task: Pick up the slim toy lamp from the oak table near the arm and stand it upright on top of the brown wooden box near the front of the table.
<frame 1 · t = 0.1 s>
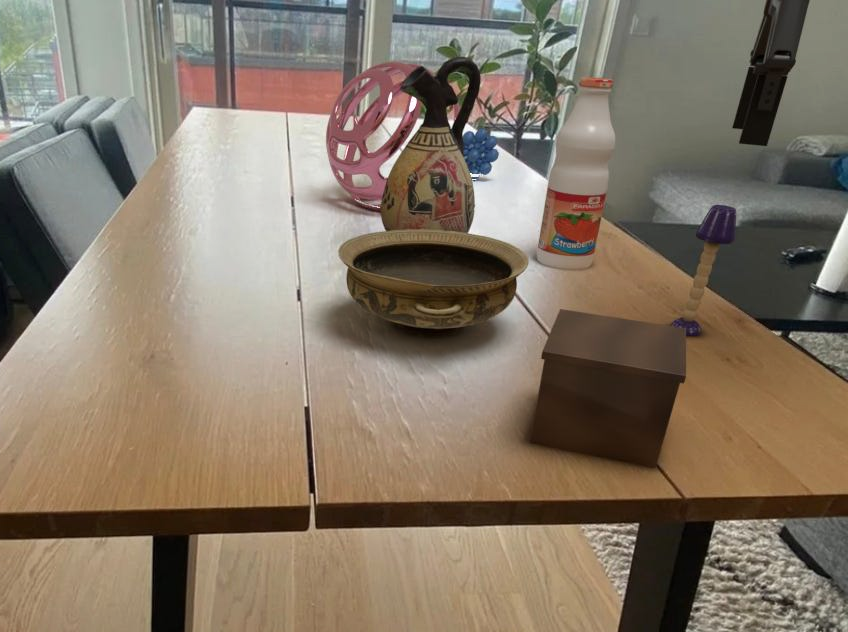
hand: (748, 136, 86), 25 cm above the table, tool pointing down, fingers open, 13 cm apart
ceramic bowl: (426, 329, 102), on the table
spiral basket: (383, 208, 160), on the table
brown wooden box: (596, 430, 79), on the table
ceramic jug: (428, 256, 131), on the table
grapes: (472, 181, 188), on the table
fruit juice: (563, 264, 131), on the table
toy lamp: (686, 334, 105), on the table
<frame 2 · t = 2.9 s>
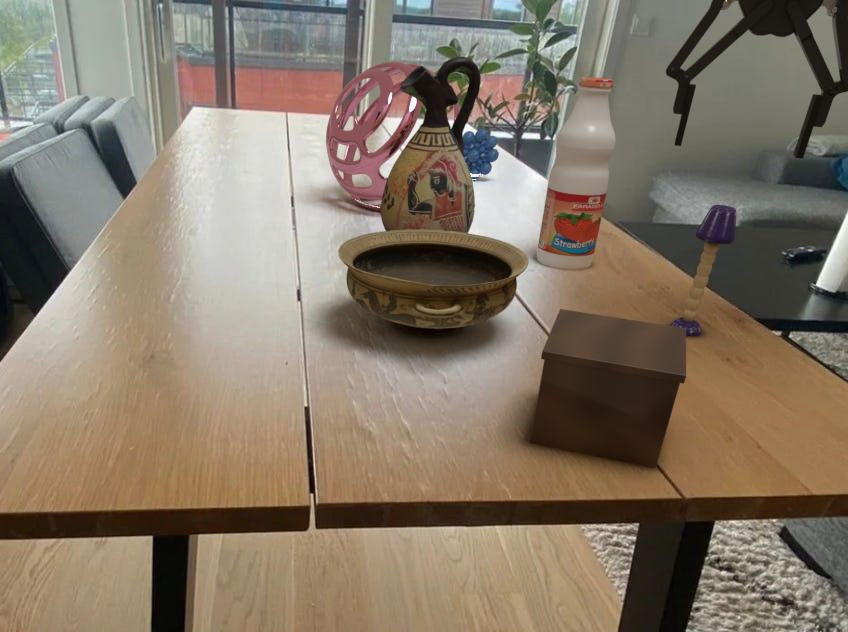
hand: (736, 150, 92), 23 cm above the table, tool pointing down, fingers open, 13 cm apart
nothing on the table moved.
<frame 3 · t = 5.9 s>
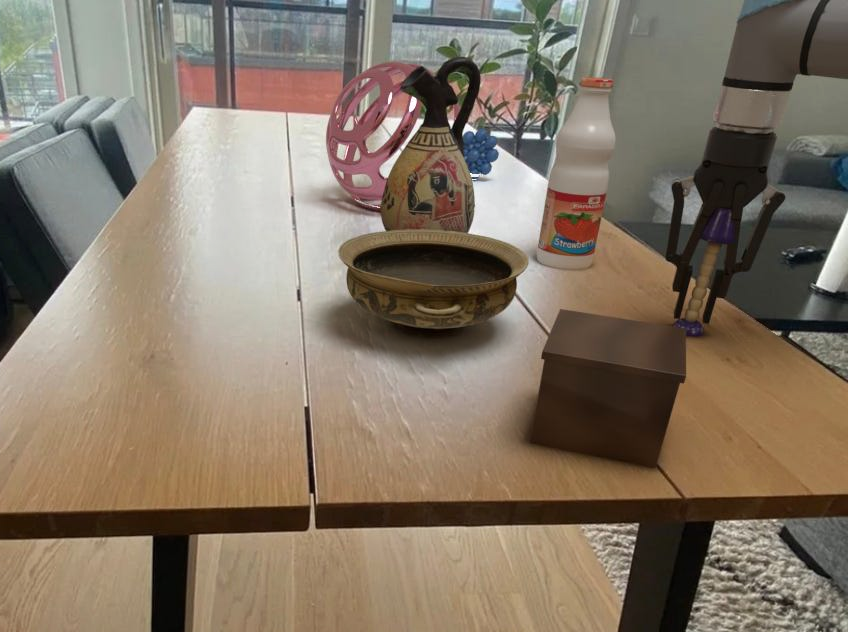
hand: (691, 317, 103), 2 cm above the table, tool pointing down, fingers closed on toy lamp, 3 cm apart
toy lamp: (688, 334, 104), on the table, touching gripper
everything else where it was.
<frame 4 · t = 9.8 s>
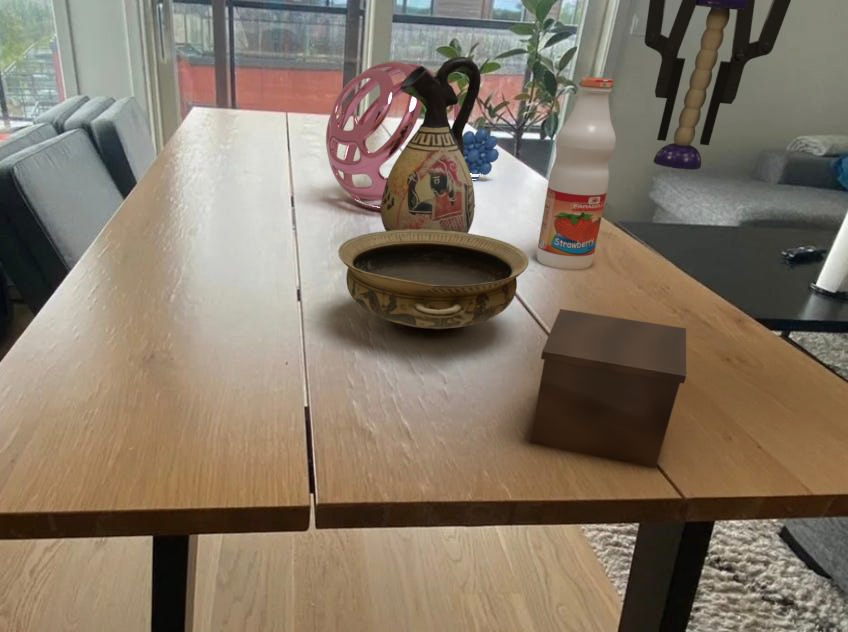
hand: (683, 140, 70), 27 cm above the table, tool pointing down, fingers closed on toy lamp, 3 cm apart
toy lamp: (679, 168, 72), point 25 cm above the table, touching gripper
everything else where it was.
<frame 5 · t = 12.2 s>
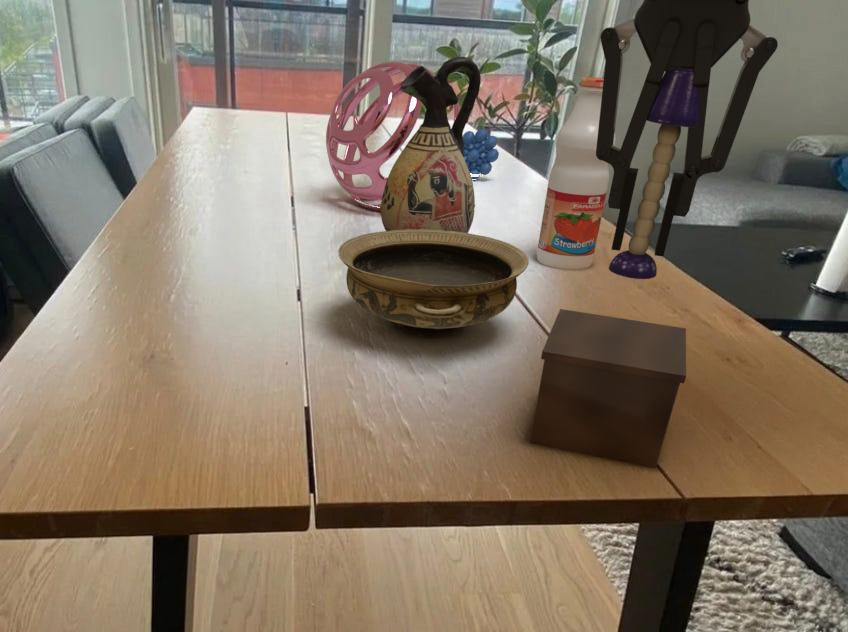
hand: (638, 248, 69), 19 cm above the table, tool pointing down, fingers closed on toy lamp, 3 cm apart
toy lamp: (635, 275, 70), point 16 cm above the table, touching gripper
everything else where it was.
when the fingers open (12 cm above the table, at t = 13.9 s): toy lamp stays where it is, resting on brown wooden box.
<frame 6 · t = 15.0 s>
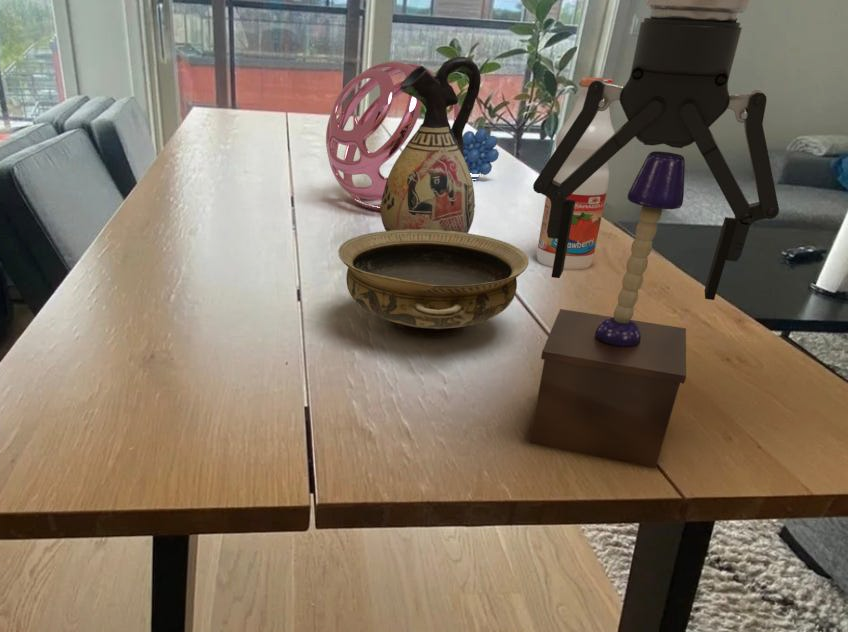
hand: (631, 284, 71), 15 cm above the table, tool pointing down, fingers open, 13 cm apart
toy lamp: (620, 341, 74), point 10 cm above the table, touching brown wooden box
everything else where it was.
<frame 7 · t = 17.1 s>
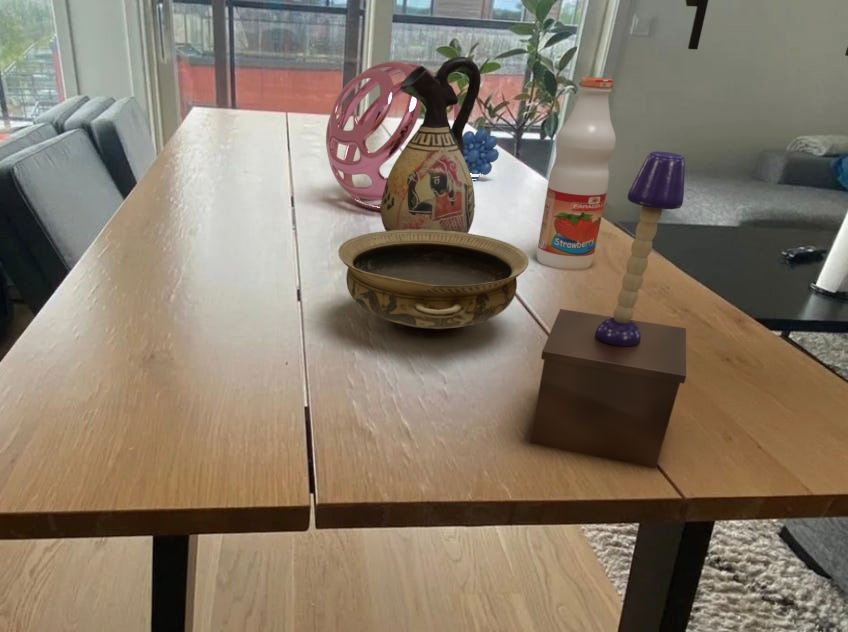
hand: (770, 53, 70), 34 cm above the table, tool pointing down, fingers open, 13 cm apart
nothing on the table moved.
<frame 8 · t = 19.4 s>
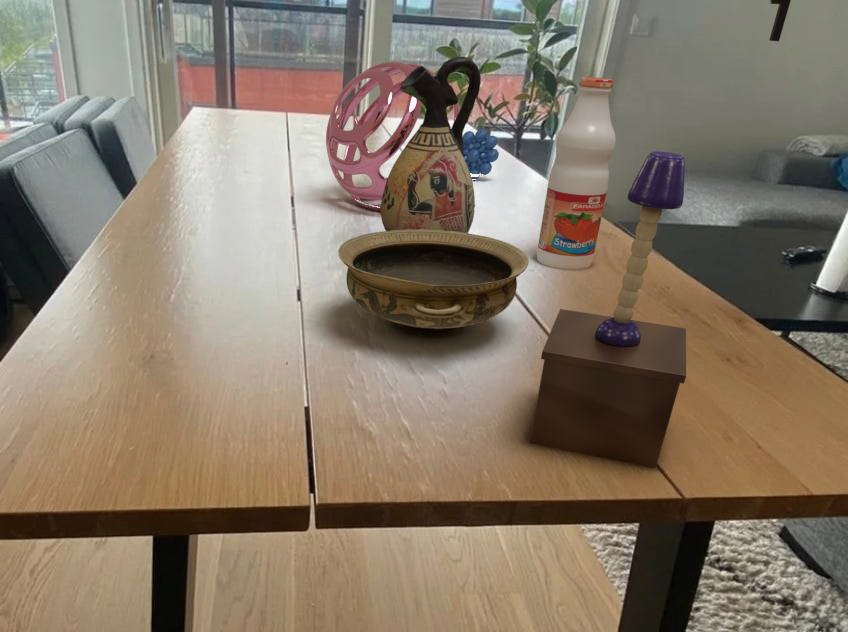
hand: (842, 45, 82), 35 cm above the table, tool pointing down, fingers open, 13 cm apart
nothing on the table moved.
at the end: toy lamp inside the target area on the brown wooden box (0.3 cm from its centre), point 9.8 cm above the brown wooden box's base; toy lamp tilted 0°; the gripper is holding nothing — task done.
